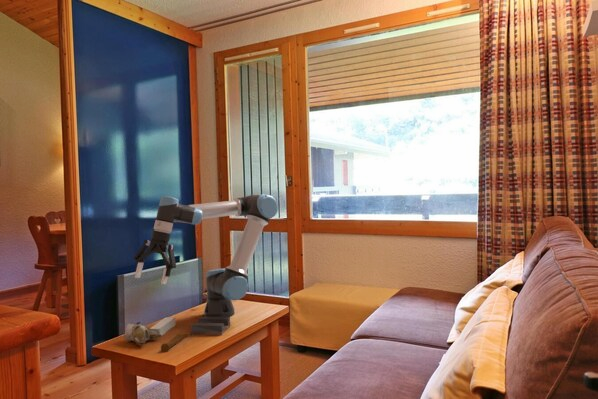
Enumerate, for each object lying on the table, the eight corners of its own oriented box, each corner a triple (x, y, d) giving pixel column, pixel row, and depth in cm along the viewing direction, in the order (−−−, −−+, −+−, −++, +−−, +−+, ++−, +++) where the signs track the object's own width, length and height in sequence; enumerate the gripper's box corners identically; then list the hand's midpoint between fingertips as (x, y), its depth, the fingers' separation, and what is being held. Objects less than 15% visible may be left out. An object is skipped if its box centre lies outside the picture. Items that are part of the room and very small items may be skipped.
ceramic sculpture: (137, 315, 180) (162, 321, 173) (137, 335, 180) (162, 341, 174) (116, 323, 170) (143, 329, 164) (116, 343, 171) (143, 351, 164)
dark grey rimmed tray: (201, 325, 191) (200, 316, 191) (230, 325, 189) (229, 317, 189) (191, 334, 179) (190, 325, 179) (221, 334, 177) (221, 325, 177)
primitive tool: (178, 335, 179) (177, 327, 179) (190, 335, 179) (189, 327, 179) (159, 353, 160) (159, 344, 160) (173, 353, 160) (173, 344, 160)
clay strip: (166, 325, 194) (165, 317, 194) (175, 325, 193) (174, 317, 193) (149, 337, 178) (149, 328, 178) (159, 337, 177) (159, 328, 177)
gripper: (132, 226, 177) (120, 274, 174) (181, 235, 169) (169, 286, 166) (144, 228, 184) (132, 275, 181) (191, 237, 176) (180, 286, 173)
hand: (150, 280), depth 174 cm, fingers open, 13 cm apart
